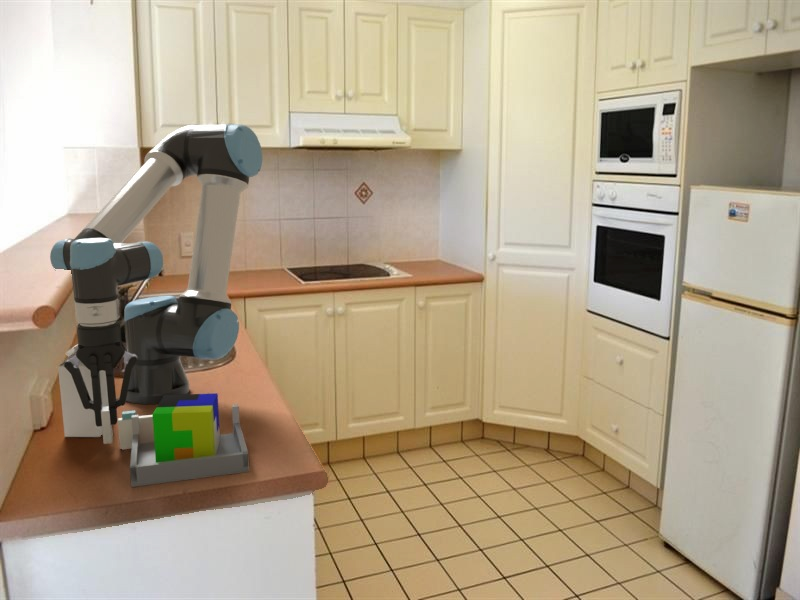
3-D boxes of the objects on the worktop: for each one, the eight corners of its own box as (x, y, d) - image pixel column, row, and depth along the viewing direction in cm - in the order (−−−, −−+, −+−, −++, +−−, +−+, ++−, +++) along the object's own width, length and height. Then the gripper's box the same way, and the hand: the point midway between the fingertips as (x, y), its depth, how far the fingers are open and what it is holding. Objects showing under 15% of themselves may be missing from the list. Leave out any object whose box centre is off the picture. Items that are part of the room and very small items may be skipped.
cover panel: (120, 447, 138) (117, 412, 137) (215, 436, 144) (213, 402, 142) (120, 449, 137) (117, 414, 136) (215, 438, 143) (214, 404, 141)
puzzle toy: (219, 441, 139) (217, 393, 136) (212, 463, 129) (210, 411, 127) (167, 444, 137) (164, 395, 135) (156, 466, 128) (152, 414, 126)
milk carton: (113, 424, 150) (106, 337, 146) (99, 438, 143) (92, 347, 139) (80, 424, 150) (72, 337, 146) (64, 437, 143) (55, 346, 139)
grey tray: (134, 449, 137) (131, 415, 136) (239, 437, 143) (238, 404, 142) (131, 487, 122) (128, 449, 120) (249, 471, 128) (247, 435, 127)
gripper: (57, 329, 126) (69, 452, 131) (134, 324, 130) (143, 444, 135) (62, 319, 133) (73, 437, 138) (136, 315, 137) (144, 429, 142)
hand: (108, 440), depth 137 cm, fingers closed
